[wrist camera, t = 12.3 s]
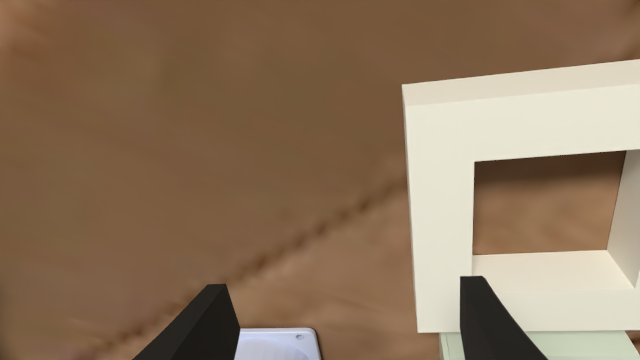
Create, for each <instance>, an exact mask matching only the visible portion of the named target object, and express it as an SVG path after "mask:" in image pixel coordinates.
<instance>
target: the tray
mask: <svg viewBox="0 0 640 360" xmlns="http://www.w3.org/2000/svg"><path fill="white" fill-rule="evenodd" d="M524 332H525V333H526V335H527V336H528V337H529V338H530V339H531V341H532V342H533V343H534V344H535V345H536V346H537V347H538V349H539V350H540V351H541V352H542V353H543V354H544V355H545V356H546V357H547V359H548V360H640V355H639V353H638V352H637V350H636V349H635V347H634V345H633V344H632V342H631V341H630V339H629V337H628V336H627V334H626V333H625V331H624V330H598V331H524ZM439 360H465V356H464V351H463V345H462V338H461V332H439Z"/></svg>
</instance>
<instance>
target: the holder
mask: <svg viewBox="0 0 640 360" xmlns="http://www.w3.org/2000/svg"><path fill="white" fill-rule="evenodd" d="M402 98H403V115H404V132H405V149H406V167H407V184H408V201H409V218H410V235H411V252H412V269H413V286H414V299H415V309H416V319H417V329H418V333H427V332H460V276H483V277H484V278H486V280H487V282H488V283H489V285H490V286H491V288H492V289H493V291H494V292H495V294H496V295H497V297H498V298H499V300H500V301H501V303H502V304H503V305H504V307H505V308H506V309H507V311H508V312H509V313H510V315H511V316H512V317H513V319H514V320H515V321H516V322H517V324H518V325H519V326H520V327H521V328H522V330H523V331H598V330H640V59H638V60H629V61H619V62H610V63H601V64H591V65H582V66H573V67H563V68H554V69H544V70H535V71H526V72H516V73H507V74H498V75H488V76H479V77H470V78H460V79H451V80H442V81H432V82H423V83H414V84H404V85H402ZM621 150H627V152H626V157H625V162H624V166H623V171H622V176H621V181H620V186H619V191H618V196H617V201H616V206H615V210H614V215H613V220H612V225H611V230H610V235H609V240H608V245H607V250H594V251H569V252H544V253H520V254H495V255H472V236H473V193H474V162H475V161H488V160H501V159H515V158H528V157H541V156H554V155H568V154H581V153H594V152H607V151H621Z"/></svg>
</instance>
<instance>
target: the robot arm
mask: <svg viewBox="0 0 640 360" xmlns="http://www.w3.org/2000/svg"><path fill="white" fill-rule="evenodd" d="M460 332H461V338H462V345H463V351H464V356H465V360H548V359H547V357H546V356H545V355H544V354H543V353H542V352H541V351H540V350H539V349H538V347H537V346H536V345H535V344H534V343H533V342H532V341H531V339H530V338H529V337H528V336H527V335H526V333H525V332H524V331H523V330H522V328H521V327H520V326H519V325H518V324H517V322H516V321H515V320H514V319H513V317H512V316H511V315H510V313H509V312H508V311H507V309H506V308H505V307H504V305H503V304H502V303H501V301H500V300H499V298H498V297H497V295H496V294H495V292H494V291H493V289H492V288H491V286H490V285H489V283H488V282H487V280H486V278H484V277H483V276H460ZM301 335H302V336H301ZM132 360H321V356H320V352H319V347H318V342H317V337H316V333H315V331H314V330H313V329H311V328H254V329H240V326H239V323H238V320H237V317H236V314H235V311H234V308H233V305H232V302H231V298H230V295H229V292H228V289H227V286H226V284H210V285H207V286H206V287H205V288H204V289H203V290H202V291H201V292H200V293H199V294H198V295H197V296H196V297H195V298H194V299H193V300H192V301H191V302H190V303H189V305H188V306H187V307H186V308H185V309H184V310H183V311H182V312H181V313H180V314H179V315H178V316H177V317H176V318H175V319H174V320H173V321H172V322H171V323H170V324H169V325H168V326H167V327H166V328H165V329H164V330H163V331H162V332H161V333H160V334H159V335H158V336H157V337H156V338H155V339H154V340H153V341H152V342H151V343H150V344H149V345H147V346H146V347H145V348H144V349H143V350H142V351H141V352H140V353H139V354H138V355H137V356H136V357H135V358H134V359H132Z"/></svg>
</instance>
